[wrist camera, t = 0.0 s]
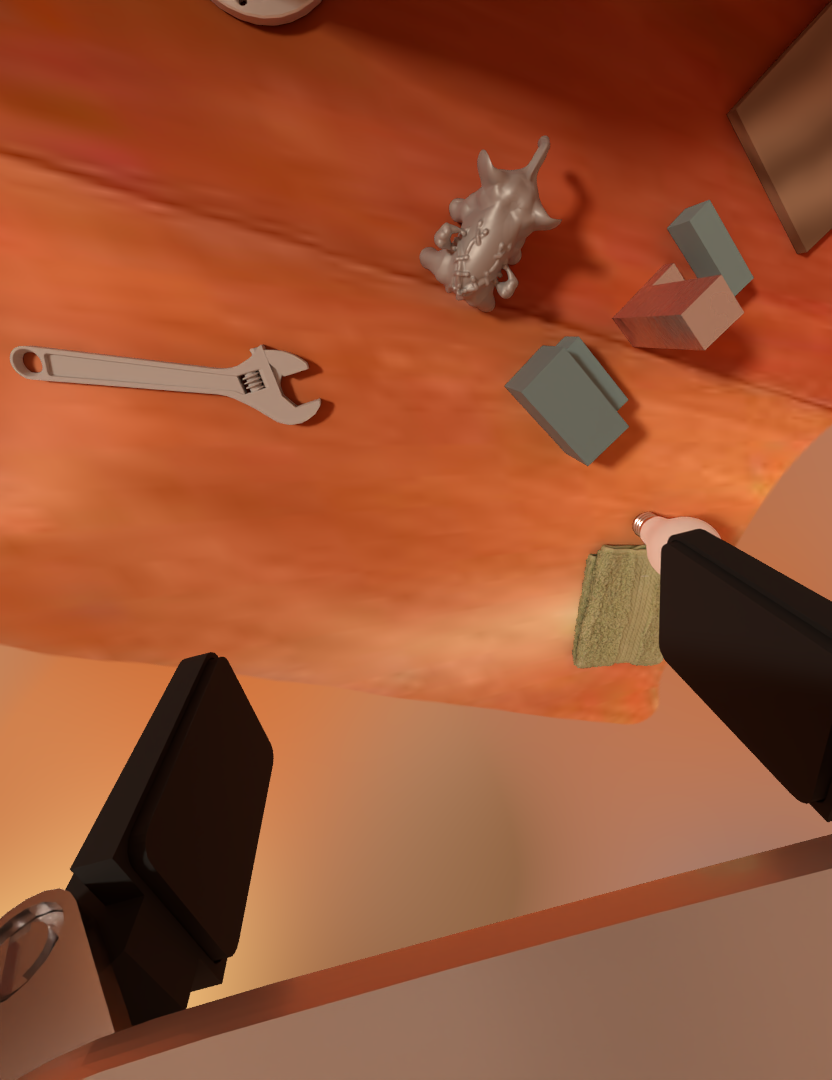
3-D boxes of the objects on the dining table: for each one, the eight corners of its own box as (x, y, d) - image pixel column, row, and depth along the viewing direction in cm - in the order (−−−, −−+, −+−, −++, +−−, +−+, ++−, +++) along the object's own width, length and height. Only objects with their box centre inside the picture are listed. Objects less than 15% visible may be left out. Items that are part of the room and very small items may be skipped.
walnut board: (726, 114, 37) (735, 109, 36) (835, -4, 35) (848, -13, 34) (797, 253, 42) (806, 252, 41) (896, 158, 40) (908, 154, 39)
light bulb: (678, 517, 53) (753, 559, 43) (634, 556, 54) (696, 607, 44) (646, 481, 50) (718, 518, 40) (601, 524, 52) (659, 570, 42)
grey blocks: (504, 386, 44) (521, 392, 39) (679, 198, 39) (721, 181, 35) (566, 453, 48) (588, 466, 43) (733, 289, 43) (777, 284, 38)
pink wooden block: (612, 318, 43) (681, 314, 34) (663, 265, 41) (749, 246, 32) (633, 346, 44) (704, 350, 35) (683, 296, 43) (771, 286, 34)
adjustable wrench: (25, 377, 39) (10, 378, 38) (13, 295, 37) (-3, 293, 35) (316, 426, 44) (314, 429, 42) (323, 355, 41) (322, 356, 40)
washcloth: (689, 537, 55) (708, 549, 52) (652, 655, 62) (666, 671, 59) (587, 539, 53) (600, 551, 50) (561, 659, 60) (571, 676, 57)
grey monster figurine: (410, 291, 40) (422, 290, 33) (446, 119, 35) (468, 76, 28) (506, 318, 42) (535, 322, 35) (554, 159, 37) (598, 128, 30)
